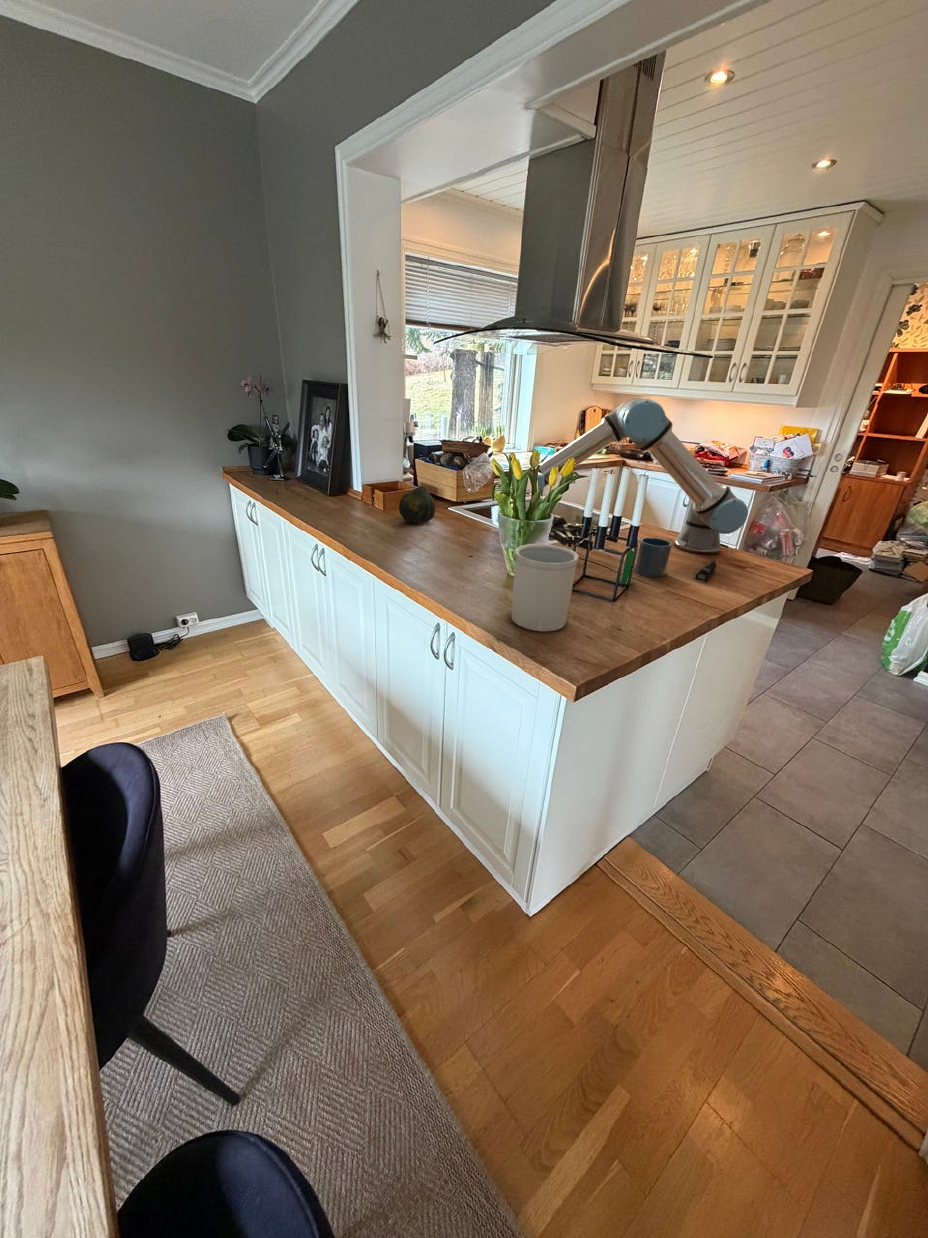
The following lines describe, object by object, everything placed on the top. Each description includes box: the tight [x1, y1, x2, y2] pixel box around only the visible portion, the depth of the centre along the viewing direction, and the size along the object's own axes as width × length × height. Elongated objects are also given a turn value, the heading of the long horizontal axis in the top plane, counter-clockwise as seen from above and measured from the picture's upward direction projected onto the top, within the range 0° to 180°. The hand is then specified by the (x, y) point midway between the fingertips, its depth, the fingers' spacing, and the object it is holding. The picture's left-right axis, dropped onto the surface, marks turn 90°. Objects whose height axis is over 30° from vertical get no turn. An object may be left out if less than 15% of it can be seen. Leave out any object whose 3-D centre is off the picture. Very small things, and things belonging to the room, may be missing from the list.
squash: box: [398, 485, 436, 524], centre depth 196 cm, size 14×15×15 cm
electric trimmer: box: [694, 560, 717, 583], centre depth 154 cm, size 4×16×3 cm, turn 142°
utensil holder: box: [510, 543, 579, 632], centre depth 117 cm, size 15×15×18 cm
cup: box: [634, 537, 672, 578], centre depth 153 cm, size 9×9×10 cm
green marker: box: [620, 536, 641, 585], centre depth 143 cm, size 3×3×14 cm
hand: (605, 542), depth 147 cm, fingers open, 13 cm apart
